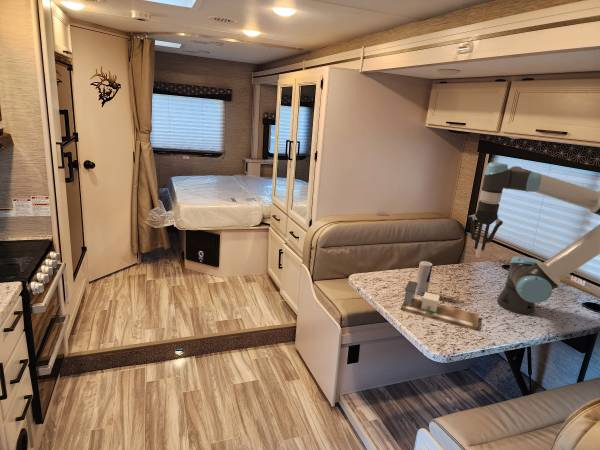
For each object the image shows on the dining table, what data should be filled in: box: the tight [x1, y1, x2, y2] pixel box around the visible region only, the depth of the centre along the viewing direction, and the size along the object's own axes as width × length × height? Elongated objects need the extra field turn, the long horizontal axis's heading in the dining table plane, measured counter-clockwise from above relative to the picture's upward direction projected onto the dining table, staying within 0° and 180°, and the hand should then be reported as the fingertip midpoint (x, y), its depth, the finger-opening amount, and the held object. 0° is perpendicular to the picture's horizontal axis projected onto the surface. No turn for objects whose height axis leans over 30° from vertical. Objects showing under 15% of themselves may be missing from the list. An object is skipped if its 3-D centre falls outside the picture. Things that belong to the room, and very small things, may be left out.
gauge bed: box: [400, 297, 480, 331], centre depth 165 cm, size 30×12×2 cm, turn 65°
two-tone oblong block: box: [402, 280, 418, 307], centre depth 169 cm, size 4×10×8 cm, turn 155°
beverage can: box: [415, 260, 433, 296], centre depth 181 cm, size 6×6×15 cm
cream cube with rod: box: [421, 292, 440, 312], centre depth 165 cm, size 6×10×5 cm, turn 155°
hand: (477, 256), depth 164 cm, fingers closed
